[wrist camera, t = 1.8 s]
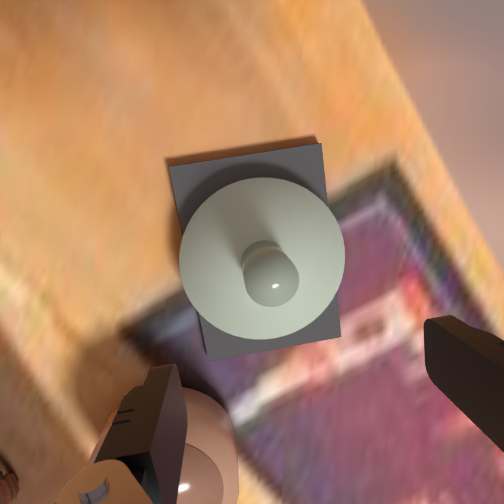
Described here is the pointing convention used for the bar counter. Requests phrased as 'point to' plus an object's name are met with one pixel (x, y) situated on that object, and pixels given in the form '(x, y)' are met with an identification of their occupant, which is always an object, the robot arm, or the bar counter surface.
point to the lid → (261, 258)
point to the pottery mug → (8, 488)
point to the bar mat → (240, 168)
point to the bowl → (202, 453)
